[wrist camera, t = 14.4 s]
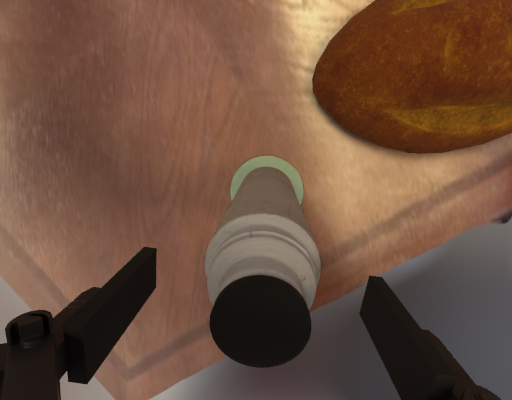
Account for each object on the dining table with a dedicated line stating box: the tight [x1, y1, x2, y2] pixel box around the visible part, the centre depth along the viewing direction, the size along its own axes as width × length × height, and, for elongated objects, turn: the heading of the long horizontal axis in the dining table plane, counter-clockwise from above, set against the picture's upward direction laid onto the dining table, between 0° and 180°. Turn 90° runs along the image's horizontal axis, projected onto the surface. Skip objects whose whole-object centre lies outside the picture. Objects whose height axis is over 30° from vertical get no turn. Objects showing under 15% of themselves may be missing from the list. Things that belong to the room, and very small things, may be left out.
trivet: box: [230, 155, 304, 206], centre depth 40 cm, size 11×11×1 cm
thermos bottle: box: [205, 167, 321, 368], centre depth 26 cm, size 8×8×28 cm
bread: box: [312, 0, 512, 153], centre depth 29 cm, size 21×33×12 cm, turn 93°
